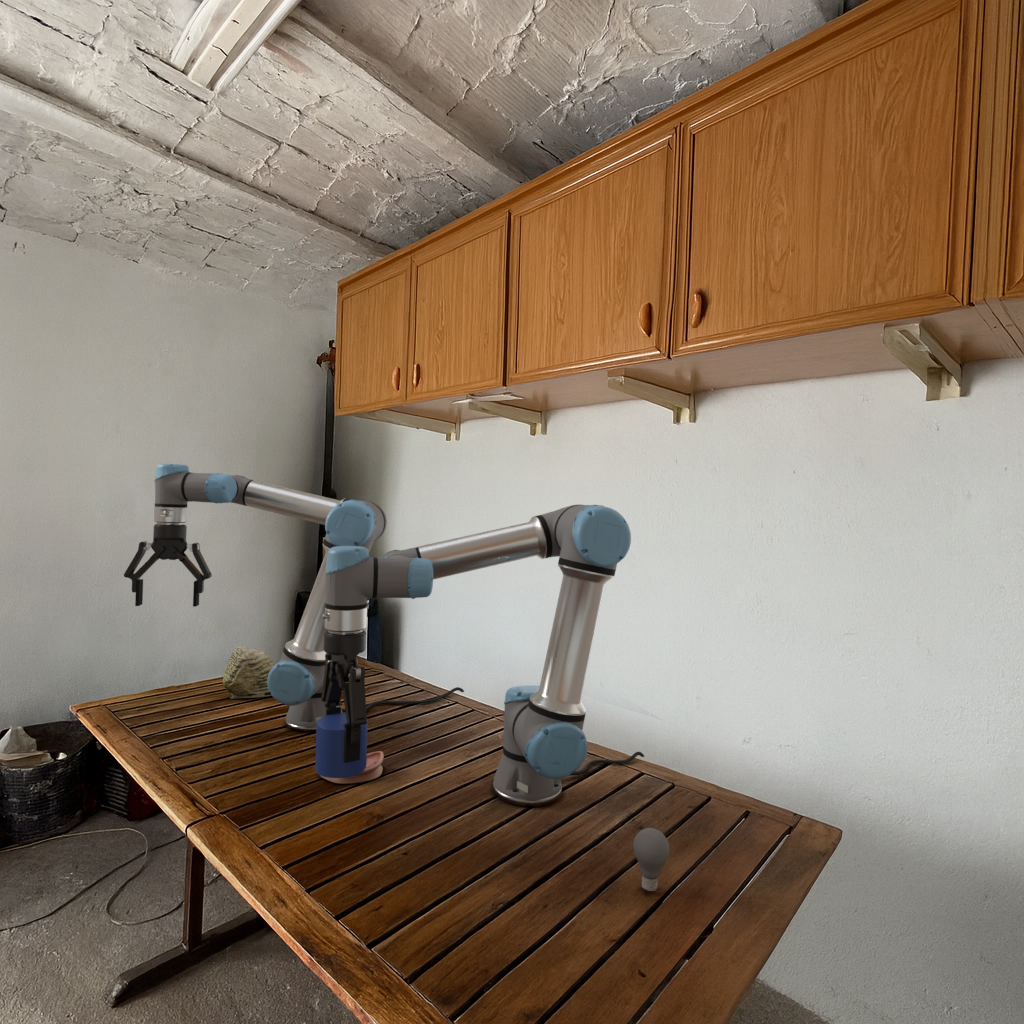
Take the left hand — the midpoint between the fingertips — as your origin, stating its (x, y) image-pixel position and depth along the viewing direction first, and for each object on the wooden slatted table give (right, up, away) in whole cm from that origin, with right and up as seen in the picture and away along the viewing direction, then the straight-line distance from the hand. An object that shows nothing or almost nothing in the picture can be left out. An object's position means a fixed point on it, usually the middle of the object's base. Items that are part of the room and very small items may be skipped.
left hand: (167, 605), depth 164 cm
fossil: (+9, -33, +34) cm, 48 cm away
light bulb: (+112, -39, -58) cm, 132 cm away
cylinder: (+58, -23, -47) cm, 78 cm away
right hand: (+58, -20, -47) cm, 77 cm away
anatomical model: (+53, -36, -19) cm, 66 cm away
